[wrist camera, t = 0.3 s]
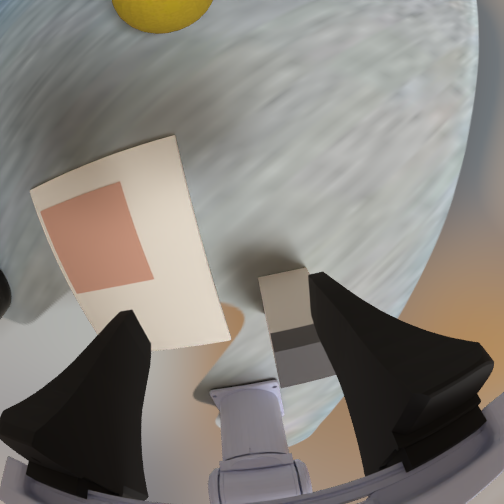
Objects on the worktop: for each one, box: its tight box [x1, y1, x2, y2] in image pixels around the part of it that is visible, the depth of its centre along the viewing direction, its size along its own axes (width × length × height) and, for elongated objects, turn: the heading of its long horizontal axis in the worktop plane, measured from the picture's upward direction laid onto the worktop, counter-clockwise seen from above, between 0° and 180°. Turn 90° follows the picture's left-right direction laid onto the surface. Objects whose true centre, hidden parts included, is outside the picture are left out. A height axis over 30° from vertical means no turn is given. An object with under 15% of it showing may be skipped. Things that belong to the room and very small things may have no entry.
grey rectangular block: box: [258, 267, 336, 388], centre depth 19 cm, size 4×4×8 cm
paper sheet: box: [30, 135, 231, 351], centre depth 20 cm, size 18×13×1 cm
